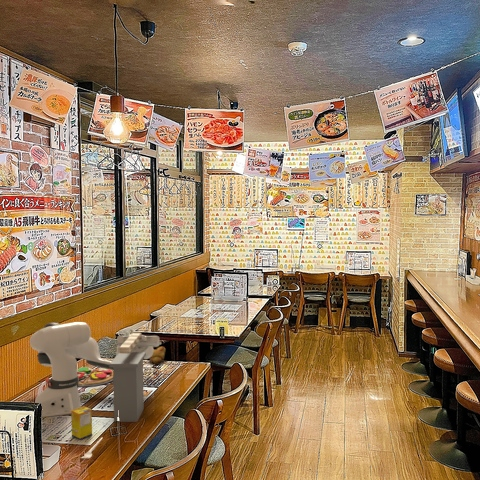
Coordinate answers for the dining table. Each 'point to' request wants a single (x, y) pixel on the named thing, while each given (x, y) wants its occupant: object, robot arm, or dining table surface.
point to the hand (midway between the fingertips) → (135, 336)
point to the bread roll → (158, 355)
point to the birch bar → (130, 343)
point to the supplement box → (81, 422)
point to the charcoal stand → (128, 386)
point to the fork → (91, 450)
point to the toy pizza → (94, 376)
